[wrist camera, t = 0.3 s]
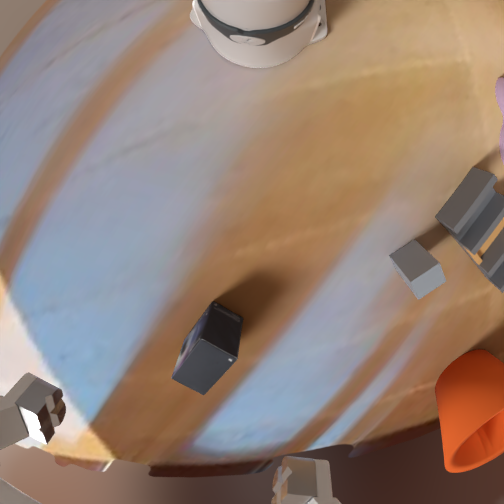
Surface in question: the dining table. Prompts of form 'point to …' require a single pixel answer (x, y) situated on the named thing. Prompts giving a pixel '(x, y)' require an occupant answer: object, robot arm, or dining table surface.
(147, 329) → the dining table surface
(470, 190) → the rack
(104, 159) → the dining table surface
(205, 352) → the small box
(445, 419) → the flowerpot
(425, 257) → the tall grey pillar block
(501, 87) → the clip
